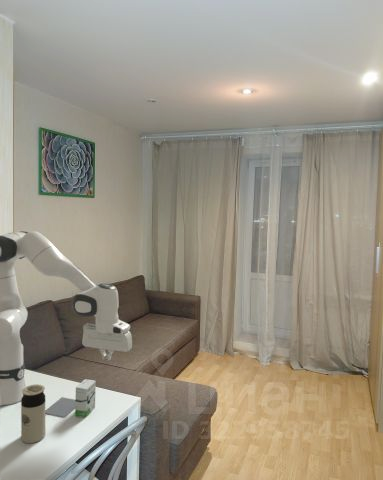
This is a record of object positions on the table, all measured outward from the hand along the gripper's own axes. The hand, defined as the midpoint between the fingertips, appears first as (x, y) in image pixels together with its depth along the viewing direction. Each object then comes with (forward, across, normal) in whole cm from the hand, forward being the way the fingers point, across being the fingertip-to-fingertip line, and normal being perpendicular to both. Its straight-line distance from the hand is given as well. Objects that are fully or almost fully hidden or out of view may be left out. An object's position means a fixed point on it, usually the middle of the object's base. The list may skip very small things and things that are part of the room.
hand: (106, 359), depth 149 cm
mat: (+23, -20, 0) cm, 30 cm away
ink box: (+23, -9, 0) cm, 25 cm away
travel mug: (+23, -18, -21) cm, 36 cm away
